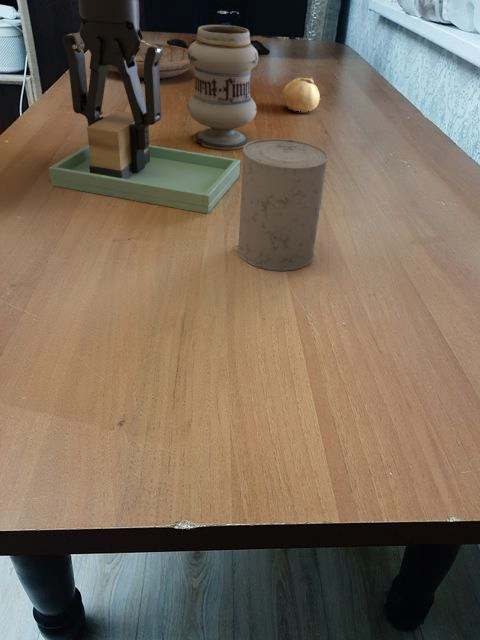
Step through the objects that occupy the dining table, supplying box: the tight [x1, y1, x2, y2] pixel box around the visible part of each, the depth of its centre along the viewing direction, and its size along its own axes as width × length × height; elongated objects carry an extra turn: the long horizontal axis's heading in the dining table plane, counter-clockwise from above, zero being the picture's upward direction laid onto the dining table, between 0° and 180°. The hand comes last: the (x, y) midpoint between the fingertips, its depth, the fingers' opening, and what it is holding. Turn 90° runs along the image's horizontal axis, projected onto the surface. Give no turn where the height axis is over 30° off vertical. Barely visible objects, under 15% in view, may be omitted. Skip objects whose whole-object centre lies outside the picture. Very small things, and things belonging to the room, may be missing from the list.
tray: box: [48, 143, 241, 214], centre depth 85 cm, size 24×16×3 cm, turn 76°
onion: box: [281, 76, 321, 113], centre depth 121 cm, size 8×8×7 cm
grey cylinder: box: [236, 138, 330, 272], centre depth 67 cm, size 10×10×12 cm
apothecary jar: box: [187, 24, 260, 151], centre depth 98 cm, size 12×12×18 cm
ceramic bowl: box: [108, 42, 194, 79], centre depth 138 cm, size 23×24×5 cm
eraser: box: [86, 110, 150, 179], centre depth 84 cm, size 10×5×7 cm, turn 166°
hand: (121, 166), depth 85 cm, fingers closed on eraser, 5 cm apart
